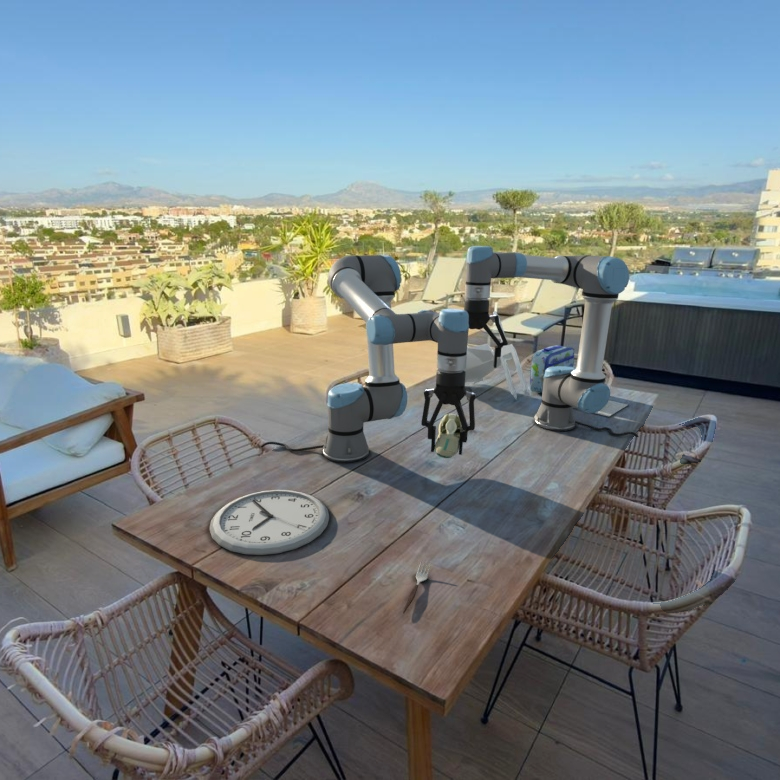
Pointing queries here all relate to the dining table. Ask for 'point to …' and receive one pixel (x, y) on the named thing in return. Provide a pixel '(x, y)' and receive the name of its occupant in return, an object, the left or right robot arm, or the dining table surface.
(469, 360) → the white plastic object
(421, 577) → the fork
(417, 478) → the dining table surface
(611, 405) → the invitation card
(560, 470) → the dining table surface
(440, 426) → the ballet flat
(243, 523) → the wall clock
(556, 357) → the lunch box
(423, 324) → the left robot arm
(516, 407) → the dining table surface
